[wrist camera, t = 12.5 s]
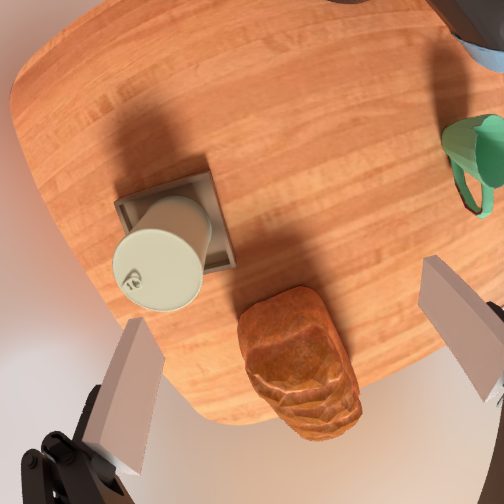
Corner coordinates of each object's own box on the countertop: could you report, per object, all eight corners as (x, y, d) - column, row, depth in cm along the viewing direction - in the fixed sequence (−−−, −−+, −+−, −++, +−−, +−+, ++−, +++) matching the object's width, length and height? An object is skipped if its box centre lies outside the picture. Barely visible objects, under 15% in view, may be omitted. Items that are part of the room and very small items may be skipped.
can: (130, 216, 36) (92, 256, 25) (189, 182, 35) (169, 211, 24) (166, 271, 40) (145, 326, 29) (224, 244, 38) (220, 295, 27)
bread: (312, 274, 42) (345, 346, 28) (354, 372, 53) (379, 434, 39) (227, 312, 44) (227, 393, 30) (291, 398, 55) (304, 462, 41)
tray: (119, 197, 35) (113, 202, 33) (210, 169, 35) (208, 172, 33) (151, 279, 41) (148, 287, 39) (236, 259, 40) (236, 266, 38)
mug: (427, 106, 32) (473, 109, 23) (471, 113, 32) (515, 119, 23) (427, 203, 38) (468, 226, 29) (469, 199, 38) (509, 220, 29)
